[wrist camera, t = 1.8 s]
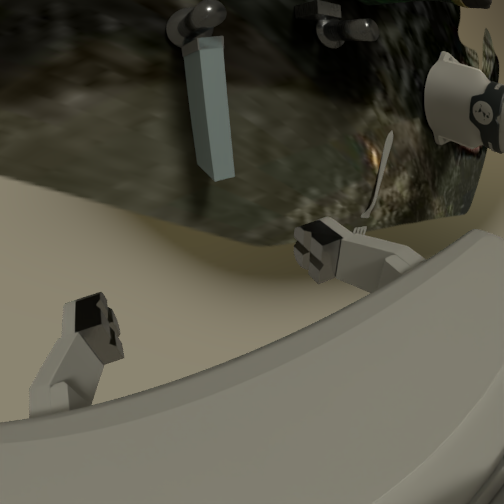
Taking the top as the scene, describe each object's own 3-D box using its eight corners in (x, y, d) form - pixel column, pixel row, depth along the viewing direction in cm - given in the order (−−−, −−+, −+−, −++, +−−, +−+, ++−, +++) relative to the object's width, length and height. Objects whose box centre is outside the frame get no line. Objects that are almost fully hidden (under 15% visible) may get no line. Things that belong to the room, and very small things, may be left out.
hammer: (342, 14, 23) (383, 11, 18) (344, 50, 26) (384, 51, 21) (294, 5, 21) (333, -4, 16) (297, 45, 24) (336, 42, 19)
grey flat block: (181, 47, 20) (197, 38, 16) (202, 44, 20) (223, 36, 16) (196, 164, 27) (213, 181, 23) (215, 159, 28) (235, 176, 24)
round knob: (210, 7, 19) (237, -12, 14) (213, 46, 21) (241, 36, 16) (164, 11, 17) (178, -10, 12) (167, 51, 20) (182, 41, 15)
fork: (399, 119, 36) (408, 122, 35) (355, 252, 48) (361, 257, 47) (387, 113, 35) (396, 116, 33) (342, 253, 47) (349, 259, 45)
